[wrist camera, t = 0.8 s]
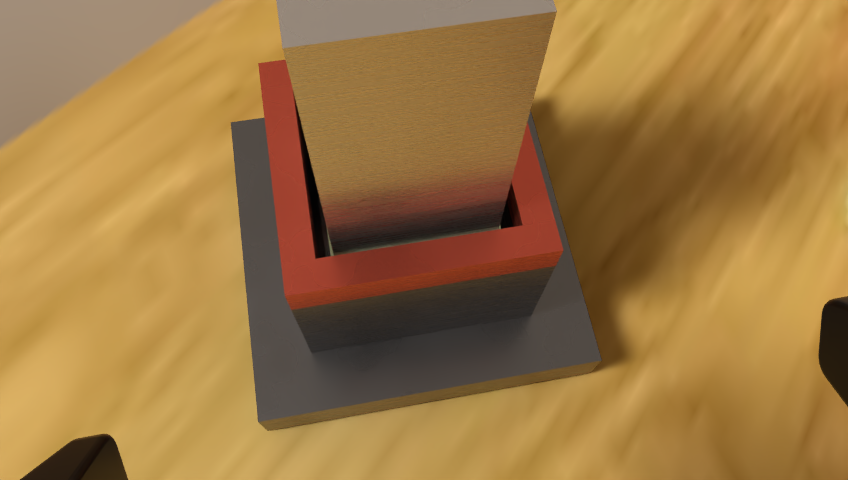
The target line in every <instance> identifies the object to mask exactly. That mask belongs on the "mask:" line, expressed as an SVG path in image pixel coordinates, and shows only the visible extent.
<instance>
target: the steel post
mask: <svg viewBox="0 0 848 480" xmlns="http://www.w3.org/2000/svg"><path fill="white" fill-rule="evenodd" d="M276 1H277V8H278V16H279V24H280V31H281V39H282V47H283V51H284V56H285V60H286V64H287V68H288V72H289V76H290V80H291V84H292V88H293V92H294V96H295V100H296V104H297V108H298V112H299V116H300V120H301V124H302V128H303V133H304V137H305V141H306V145H307V149H308V153H309V157H310V161H311V165H312V169H313V173H314V177H315V181H316V185H317V189H318V193H319V197H320V201H321V205H322V210H323V214H324V218H325V222H326V226H327V233H328V240H329V247H330V254H331V256H336V255H342V254H348V253H354V252H360V251H367V250H373V249H379V248H385V247H392V246H398V245H404V244H410V243H416V242H423V241H429V240H435V239H441V238H448V237H454V236H460V235H466V234H473V233H479V232H485V231H491V230H497V229H501V226H500V222H501V219H502V215H503V211H504V207H505V204H506V200H507V196H508V192H509V189H510V185H511V181H512V177H513V174H514V170H515V166H516V162H517V159H518V155H519V151H520V147H521V144H522V140H523V136H524V132H525V129H526V125H527V121H528V117H529V114H530V110H531V106H532V102H533V99H534V95H535V91H536V87H537V84H538V80H539V76H540V72H541V69H542V65H543V61H544V57H545V54H546V50H547V46H548V42H549V39H550V35H551V31H552V27H553V24H554V20H555V16H556V13H557V10H556V7H555V4H554V1H553V0H276Z"/></svg>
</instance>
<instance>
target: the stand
mask: <svg viewBox="0 0 848 480" xmlns="http://www.w3.org/2000/svg"><path fill="white" fill-rule="evenodd" d="M258 64H259V73H260V82H261V90H262V99H263V108H264V117H265V118H259V119H252V120H245V121H238V122H231V129H232V140H233V151H234V162H235V173H236V184H237V195H238V206H239V217H240V228H241V238H242V249H243V260H244V271H245V282H246V293H247V304H248V315H249V326H250V337H251V348H252V359H253V370H254V381H255V391H256V402H257V413H258V422H259V423H260V424H261V425H262V426H263V427H264V428H265V429H266V430H267V431H270V430H276V429H281V428H287V427H292V426H298V425H303V424H309V423H314V422H320V421H325V420H331V419H337V418H342V417H348V416H353V415H359V414H364V413H370V412H375V411H381V410H386V409H392V408H397V407H403V406H409V405H414V404H420V403H425V402H431V401H436V400H442V399H447V398H453V397H458V396H464V395H470V394H475V393H481V392H486V391H492V390H497V389H503V388H508V387H514V386H519V385H525V384H530V383H536V382H542V381H547V380H553V379H558V378H564V377H569V376H575V375H580V374H586V373H590V372H591V371H592V370H593V369H594V368H595V367H596V366H597V365H598V364H599V363H600V362H601V361H602V359H601V356H600V352H599V349H598V345H597V342H596V338H595V335H594V331H593V328H592V324H591V321H590V317H589V314H588V310H587V307H586V303H585V300H584V296H583V293H582V289H581V286H580V282H579V279H578V275H577V272H576V268H575V265H574V261H573V258H572V254H571V251H570V247H569V244H568V240H567V237H566V233H565V230H564V226H563V223H562V219H561V216H560V212H559V209H558V205H557V202H556V198H555V194H554V191H553V187H552V184H551V180H550V177H549V173H548V170H547V166H546V163H545V159H544V156H543V152H542V149H541V145H540V142H539V138H538V135H537V131H536V128H535V124H534V121H533V117H532V114H531V110H530V114H529V117H528V121H527V125H526V129H525V132H524V136H523V140H522V144H521V147H520V151H519V155H518V159H517V162H516V166H515V170H514V174H513V177H512V181H511V185H510V189H509V192H508V196H507V200H506V204H505V207H504V211H503V215H502V219H501V222H500V226H501V229H497V230H491V231H485V232H479V233H473V234H466V235H460V236H454V237H448V238H441V239H435V240H429V241H423V242H416V243H410V244H404V245H398V246H392V247H385V248H379V249H373V250H367V251H360V252H354V253H348V254H342V255H336V256H331V254H330V247H329V240H328V233H327V226H326V222H325V218H324V214H323V210H322V205H321V201H320V197H319V193H318V189H317V185H316V181H315V177H314V173H313V169H312V165H311V161H310V157H309V153H308V149H307V145H306V141H305V137H304V133H303V128H302V124H301V120H300V116H299V112H298V108H297V104H296V100H295V96H294V92H293V88H292V84H291V80H290V76H289V72H288V68H287V64H286V60H280V61H273V62H265V63H258Z"/></svg>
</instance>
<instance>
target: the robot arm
mask: <svg viewBox="0 0 848 480" xmlns="http://www.w3.org/2000/svg"><path fill="white" fill-rule="evenodd" d="M819 364H820V367H821V370H822V372H823V374H824V375H825V377H826V378H827V380H828V381H829V382H830V384H831V385H832V386H833V388H834V389H835V390H836V392H837V393H838V394H839V396H840V397H841V398H842V400H843V401H844V402H845V404H846V405H847V406H848V296H847V297H841V298H836V299H832V300H829V301H828V302H827V303H826V304H825V306H824V308H823V311H822V319H821V331H820V343H819ZM20 480H128V478H127V475H126V472H125V469H124V466H123V462H122V459H121V456H120V453H119V450H118V447H117V445H116V442H115V441H114V439H113V438H112V437H111V436H110V435H108V434H99V435H94V436H88V437H83V438H78V439H75V440H72V441H71V442H69V443H68V444H67V445H65V446H64V447H63V448H61V449H60V450H59V451H57V452H56V453H55V454H53V455H52V456H51V457H49V458H48V459H47V460H45V461H44V462H43V463H41V464H40V465H39V466H37V467H36V468H35V469H33V470H32V471H31V472H30V473H28V474H27V475H26V476H24V477H23V478H22V479H20Z"/></svg>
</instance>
